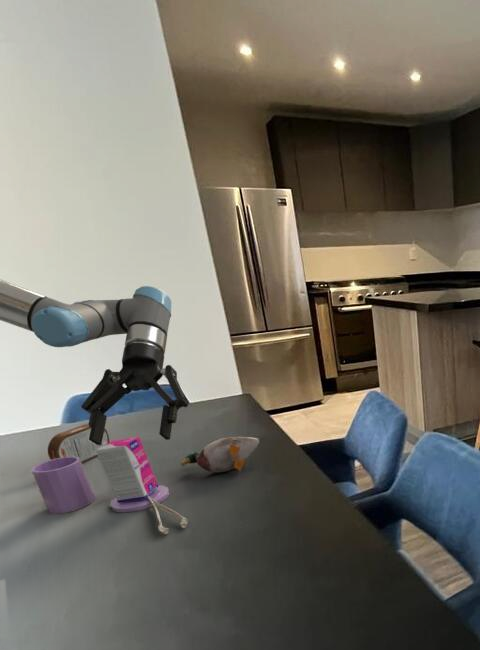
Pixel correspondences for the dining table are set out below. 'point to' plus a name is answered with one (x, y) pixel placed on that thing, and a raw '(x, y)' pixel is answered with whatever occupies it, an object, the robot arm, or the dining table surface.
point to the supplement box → (127, 469)
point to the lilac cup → (63, 484)
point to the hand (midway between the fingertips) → (130, 439)
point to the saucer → (141, 501)
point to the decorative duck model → (224, 454)
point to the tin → (75, 444)
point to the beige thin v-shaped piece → (171, 512)
